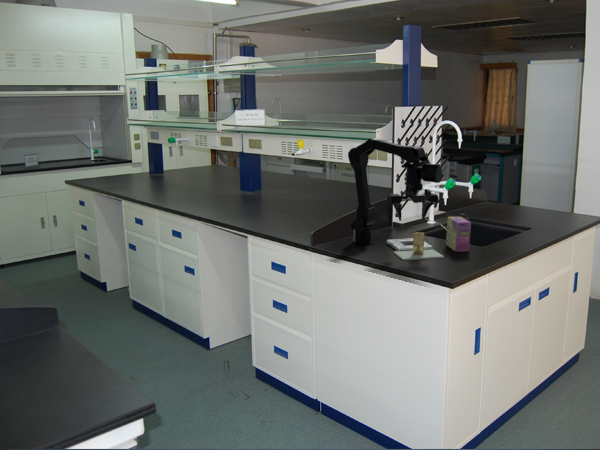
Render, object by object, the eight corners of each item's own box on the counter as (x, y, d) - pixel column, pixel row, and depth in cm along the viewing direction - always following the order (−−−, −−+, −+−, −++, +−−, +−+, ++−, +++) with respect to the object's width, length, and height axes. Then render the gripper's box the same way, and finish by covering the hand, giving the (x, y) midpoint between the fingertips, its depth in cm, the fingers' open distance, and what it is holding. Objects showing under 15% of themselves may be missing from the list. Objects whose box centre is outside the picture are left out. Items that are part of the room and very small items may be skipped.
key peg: (415, 255, 196) (415, 235, 194) (411, 252, 200) (411, 232, 198) (425, 254, 196) (425, 234, 195) (421, 252, 200) (421, 231, 198)
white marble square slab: (398, 252, 203) (398, 248, 202) (386, 243, 216) (386, 239, 216) (432, 250, 205) (432, 246, 204) (418, 241, 218) (418, 237, 218)
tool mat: (402, 260, 192) (402, 258, 192) (393, 252, 202) (393, 251, 202) (443, 257, 195) (443, 256, 194) (432, 250, 204) (432, 249, 204)
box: (469, 251, 202) (471, 221, 200) (455, 252, 202) (456, 222, 199) (459, 244, 213) (461, 216, 210) (445, 245, 212) (447, 216, 209)
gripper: (396, 184, 188) (394, 226, 191) (445, 182, 190) (443, 224, 194) (387, 179, 198) (385, 219, 202) (433, 178, 201) (431, 217, 205)
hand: (411, 220), depth 200 cm, fingers open, 9 cm apart
